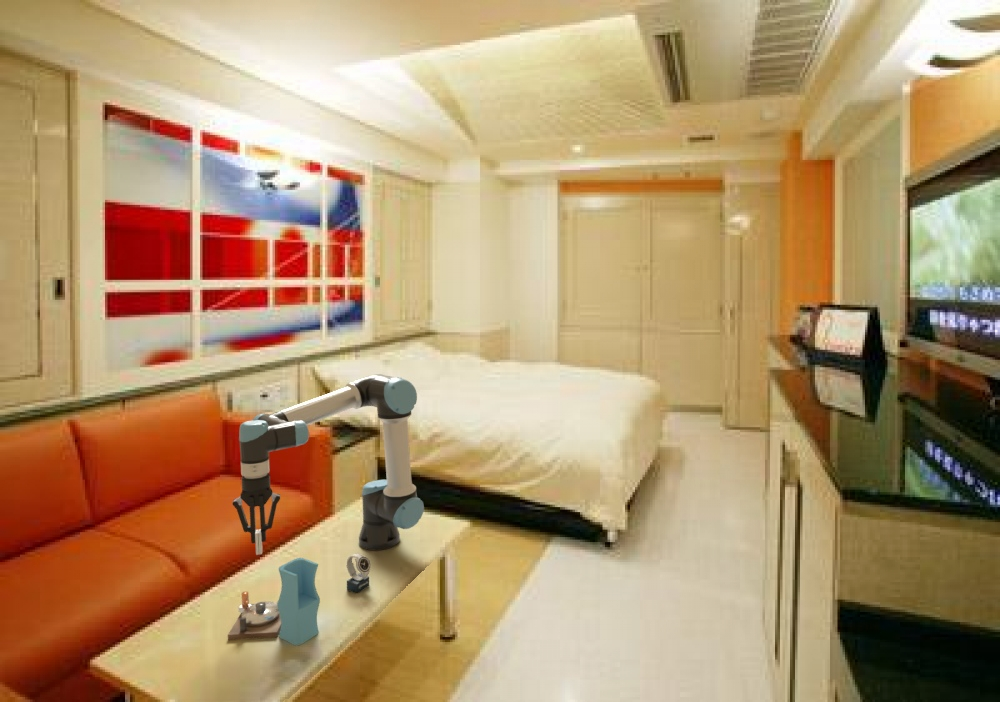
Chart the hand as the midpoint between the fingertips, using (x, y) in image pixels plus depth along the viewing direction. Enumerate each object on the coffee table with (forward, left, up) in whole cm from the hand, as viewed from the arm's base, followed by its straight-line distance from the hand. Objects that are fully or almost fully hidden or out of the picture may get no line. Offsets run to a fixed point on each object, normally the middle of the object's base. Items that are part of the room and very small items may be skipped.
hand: (259, 552), depth 166 cm
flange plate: (+5, +1, -16) cm, 17 cm away
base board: (+6, +2, -18) cm, 19 cm away
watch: (-11, +27, -19) cm, 34 cm away
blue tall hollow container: (+12, +14, -19) cm, 26 cm away
